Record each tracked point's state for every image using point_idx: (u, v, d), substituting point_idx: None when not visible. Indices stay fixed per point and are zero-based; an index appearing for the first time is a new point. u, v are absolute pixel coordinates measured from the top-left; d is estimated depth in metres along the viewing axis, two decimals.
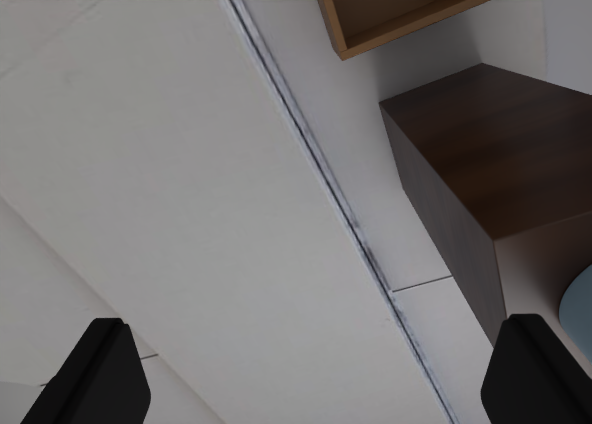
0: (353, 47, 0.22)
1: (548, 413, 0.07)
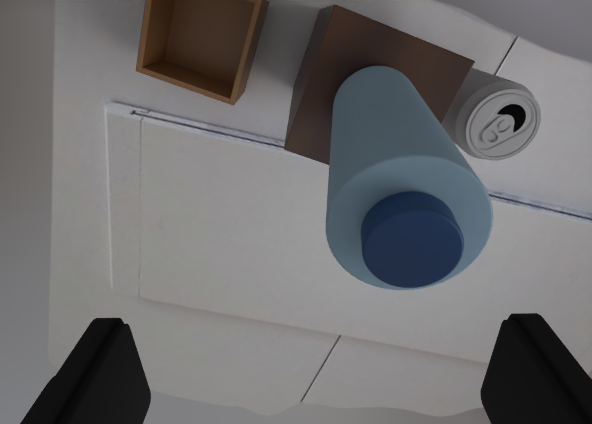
0: (231, 94, 0.34)
1: (548, 413, 0.07)
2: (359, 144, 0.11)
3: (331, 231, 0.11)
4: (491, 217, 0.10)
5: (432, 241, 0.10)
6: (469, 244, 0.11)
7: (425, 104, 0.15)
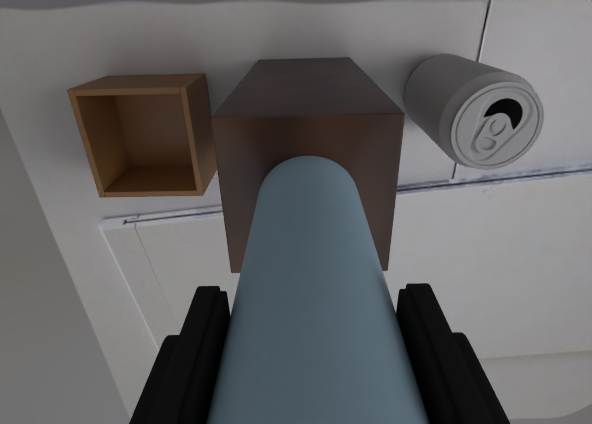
0: (196, 186, 0.32)
1: (418, 365, 0.08)
2: (223, 369, 0.08)
3: None
4: None
5: None
6: None
7: (335, 219, 0.12)
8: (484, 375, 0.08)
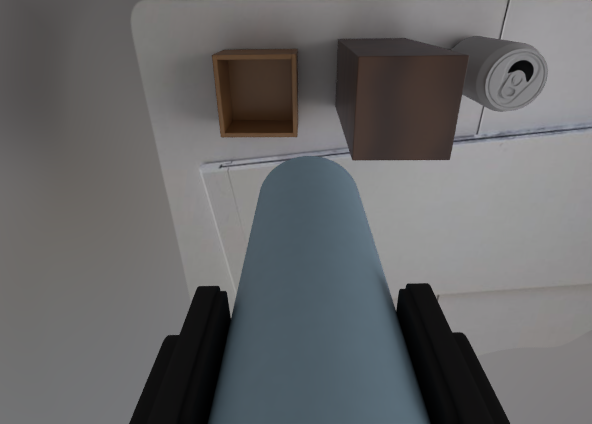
0: (293, 129, 0.44)
1: (418, 365, 0.08)
2: (224, 370, 0.08)
3: None
4: None
5: None
6: None
7: (336, 220, 0.12)
8: (484, 375, 0.08)
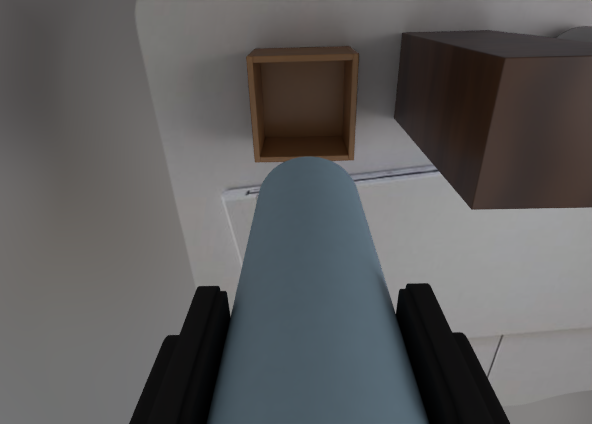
0: (349, 151, 0.34)
1: (418, 365, 0.08)
2: (223, 371, 0.08)
3: None
4: None
5: None
6: None
7: (335, 220, 0.11)
8: (484, 375, 0.08)
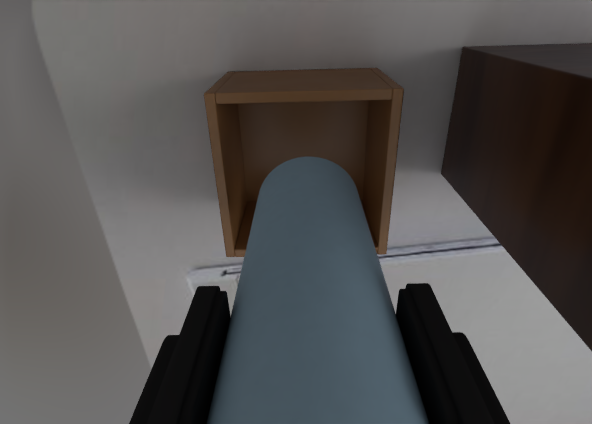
0: (379, 241, 0.21)
1: (418, 365, 0.08)
2: (223, 371, 0.08)
3: None
4: None
5: None
6: None
7: (335, 220, 0.12)
8: (484, 375, 0.08)
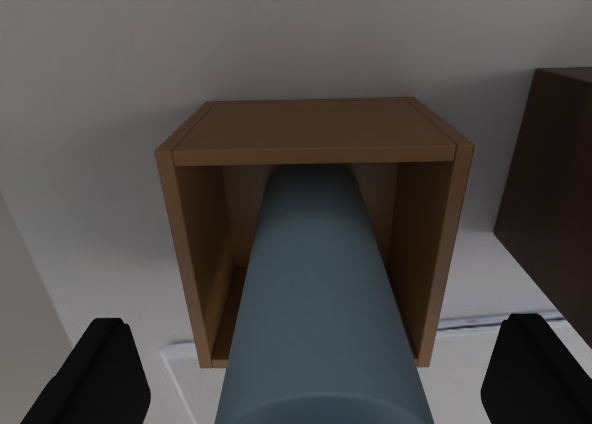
0: (420, 351, 0.14)
1: (548, 413, 0.07)
2: (235, 349, 0.09)
3: None
4: None
5: None
6: None
7: (338, 214, 0.12)
8: None
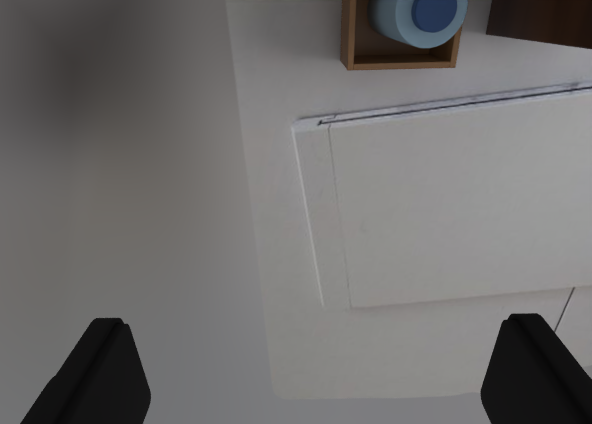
0: (451, 56, 0.31)
1: (548, 413, 0.07)
2: None
3: (399, 25, 0.25)
4: None
5: (442, 0, 0.23)
6: (460, 3, 0.24)
7: None
8: None
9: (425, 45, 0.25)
